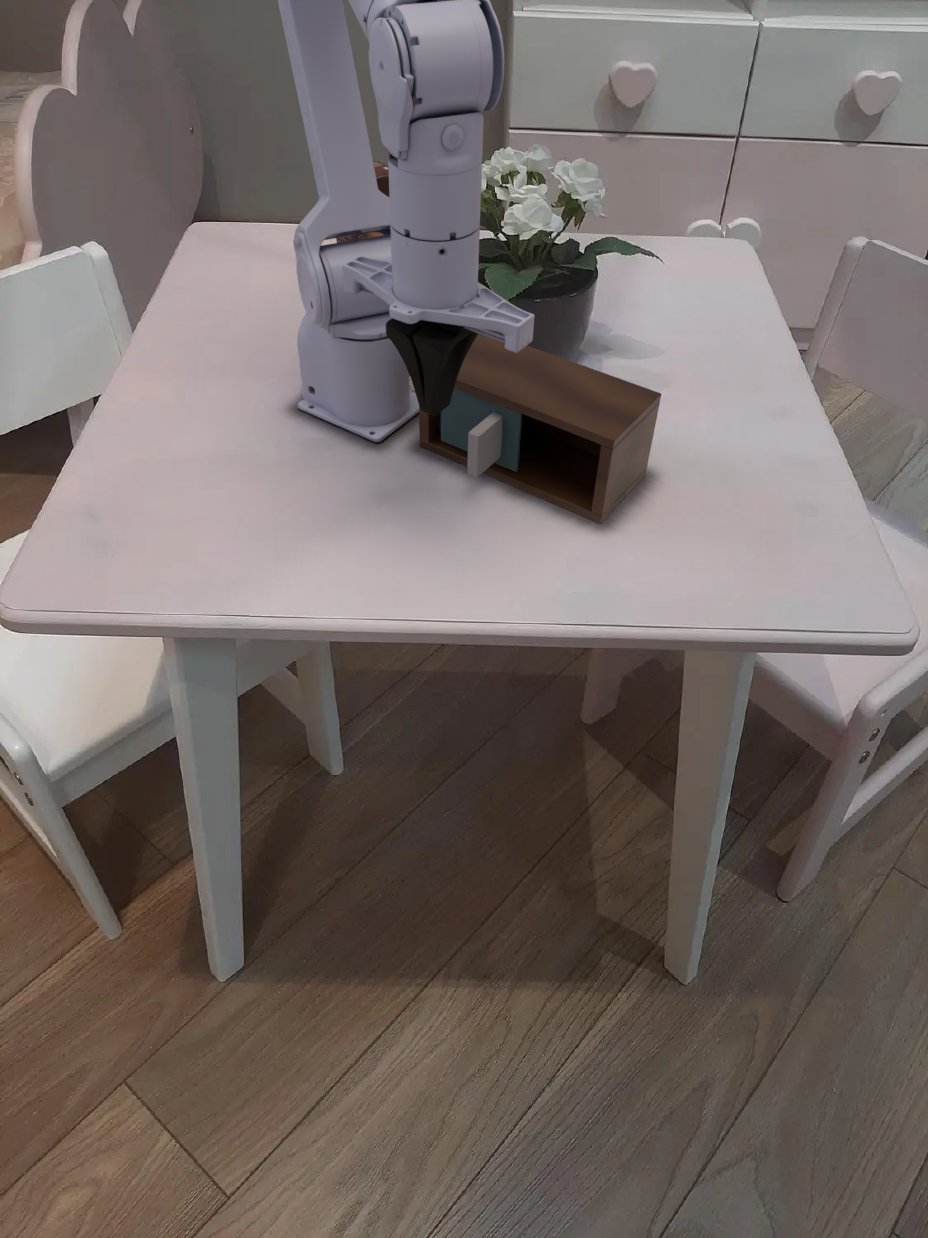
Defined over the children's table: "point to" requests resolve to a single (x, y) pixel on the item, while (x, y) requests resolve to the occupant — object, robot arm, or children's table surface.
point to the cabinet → (559, 426)
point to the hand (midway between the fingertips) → (435, 406)
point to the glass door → (482, 431)
